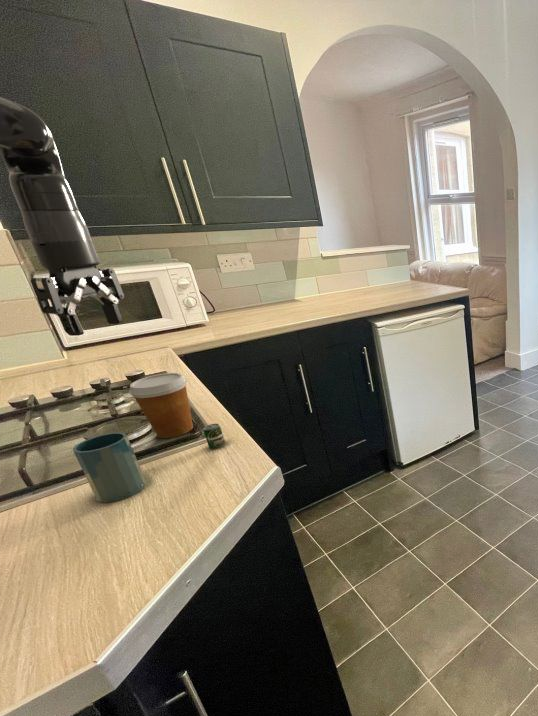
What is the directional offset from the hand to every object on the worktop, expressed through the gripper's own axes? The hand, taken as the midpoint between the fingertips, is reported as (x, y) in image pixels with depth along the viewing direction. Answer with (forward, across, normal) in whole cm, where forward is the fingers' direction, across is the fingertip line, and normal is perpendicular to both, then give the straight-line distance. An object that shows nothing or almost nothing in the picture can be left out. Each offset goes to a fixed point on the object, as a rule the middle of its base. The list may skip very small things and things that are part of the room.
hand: (96, 329), depth 79 cm
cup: (+24, +19, +11) cm, 32 cm away
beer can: (+24, +5, +19) cm, 30 cm away
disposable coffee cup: (+24, -3, +5) cm, 25 cm away
